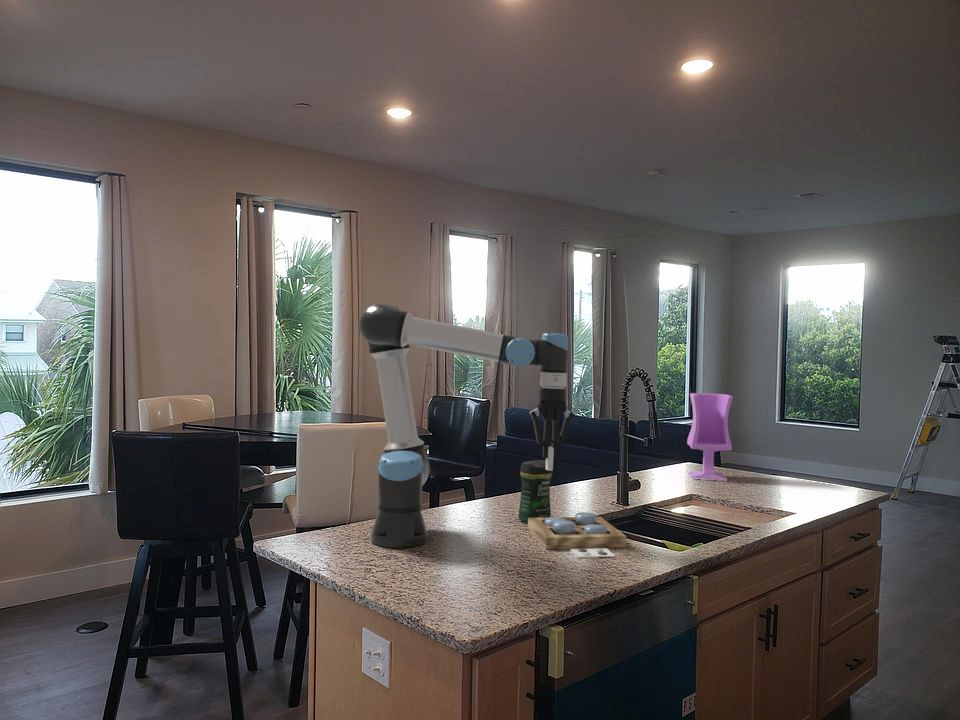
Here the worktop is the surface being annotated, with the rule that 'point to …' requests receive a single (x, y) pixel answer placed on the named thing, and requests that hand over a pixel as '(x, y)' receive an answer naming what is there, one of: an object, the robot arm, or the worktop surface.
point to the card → (592, 553)
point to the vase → (709, 430)
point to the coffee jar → (534, 491)
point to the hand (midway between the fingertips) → (549, 469)
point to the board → (576, 536)
